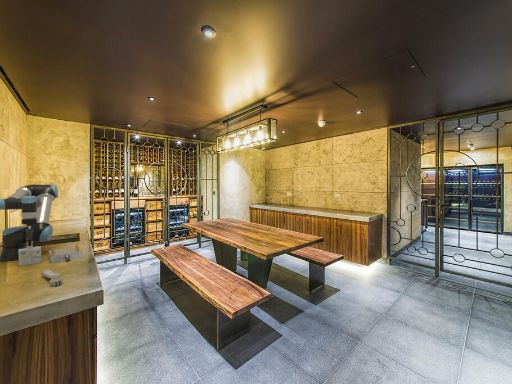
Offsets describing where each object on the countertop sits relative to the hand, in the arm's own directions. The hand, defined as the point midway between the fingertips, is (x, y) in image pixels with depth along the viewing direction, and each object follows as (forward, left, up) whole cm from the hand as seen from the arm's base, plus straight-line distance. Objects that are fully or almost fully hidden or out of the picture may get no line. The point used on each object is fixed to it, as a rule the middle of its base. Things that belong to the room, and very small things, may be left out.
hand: (29, 248), depth 156 cm
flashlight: (+48, +8, -11) cm, 49 cm away
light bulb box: (0, 0, -11) cm, 11 cm away
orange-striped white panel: (+1, +19, -10) cm, 22 cm away
